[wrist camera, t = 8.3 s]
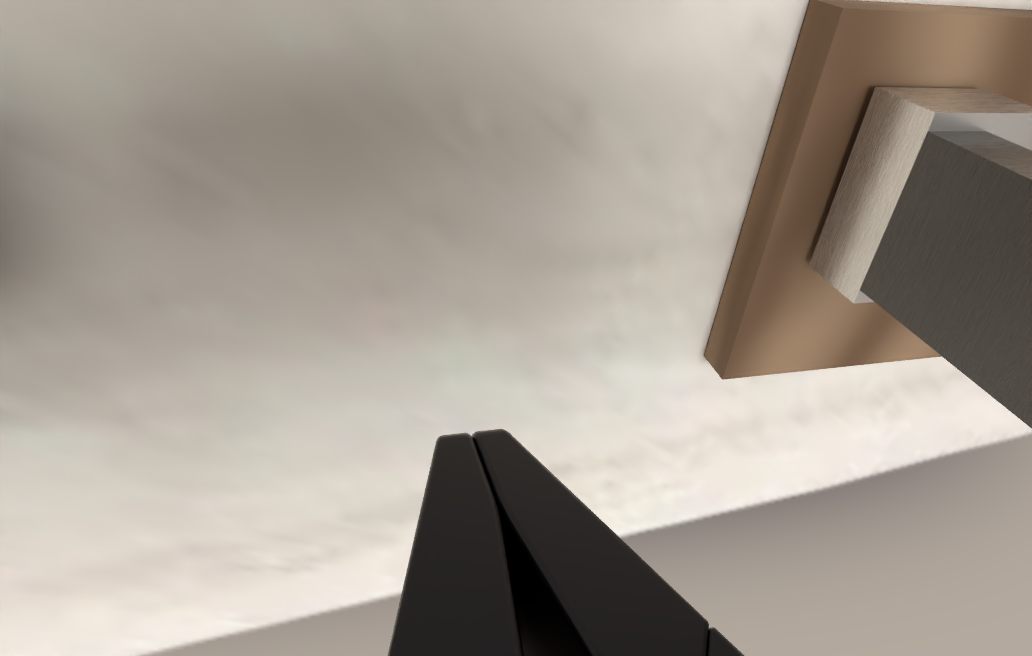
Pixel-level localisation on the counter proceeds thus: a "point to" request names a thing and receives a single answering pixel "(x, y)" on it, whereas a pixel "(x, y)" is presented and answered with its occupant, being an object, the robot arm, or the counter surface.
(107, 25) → the counter surface
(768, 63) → the counter surface
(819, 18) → the base
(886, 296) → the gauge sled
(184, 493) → the counter surface
